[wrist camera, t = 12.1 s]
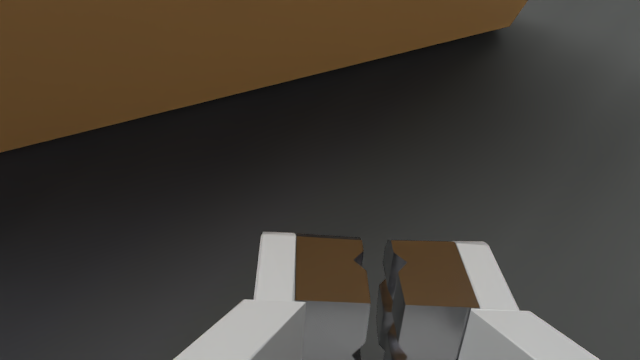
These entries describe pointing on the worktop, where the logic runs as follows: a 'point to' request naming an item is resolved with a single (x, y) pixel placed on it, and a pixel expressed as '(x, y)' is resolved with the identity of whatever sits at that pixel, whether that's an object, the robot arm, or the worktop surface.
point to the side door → (196, 51)
